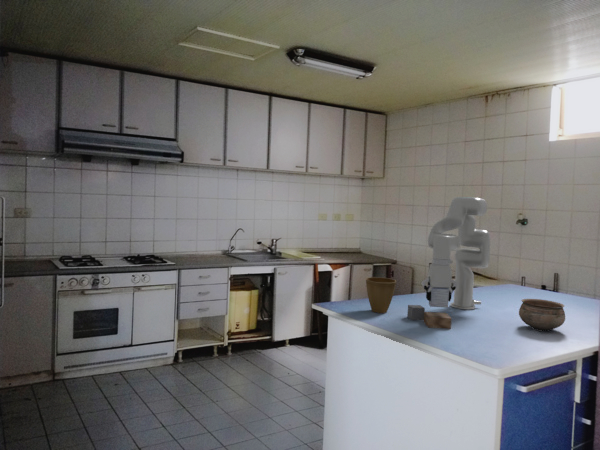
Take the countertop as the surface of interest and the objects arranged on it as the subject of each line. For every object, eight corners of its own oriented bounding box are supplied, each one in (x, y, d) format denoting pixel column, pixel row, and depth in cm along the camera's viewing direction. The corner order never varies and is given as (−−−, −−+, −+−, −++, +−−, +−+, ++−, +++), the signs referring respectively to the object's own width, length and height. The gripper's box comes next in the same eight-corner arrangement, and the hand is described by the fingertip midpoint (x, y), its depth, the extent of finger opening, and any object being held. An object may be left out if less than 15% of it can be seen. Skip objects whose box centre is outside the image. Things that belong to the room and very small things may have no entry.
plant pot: (358, 308, 243) (360, 277, 242) (384, 307, 248) (386, 276, 248) (373, 315, 229) (375, 282, 228) (400, 314, 234) (402, 282, 234)
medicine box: (446, 305, 219) (447, 287, 218) (448, 308, 214) (449, 288, 214) (428, 304, 219) (429, 285, 219) (430, 306, 215) (431, 287, 214)
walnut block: (445, 323, 222) (446, 313, 222) (450, 329, 212) (451, 318, 212) (423, 322, 223) (424, 311, 222) (427, 328, 213) (428, 316, 212)
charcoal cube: (419, 317, 231) (420, 305, 230) (423, 320, 225) (424, 308, 225) (407, 317, 230) (408, 304, 230) (411, 320, 224) (412, 307, 224)
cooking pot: (528, 320, 234) (530, 296, 234) (571, 329, 221) (573, 303, 220) (508, 329, 216) (510, 302, 216) (554, 339, 203) (556, 310, 203)
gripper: (455, 262, 220) (453, 299, 221) (419, 260, 218) (416, 298, 219) (463, 264, 213) (460, 302, 214) (425, 263, 211) (422, 302, 212)
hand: (438, 300), depth 217 cm, fingers closed on medicine box, 8 cm apart
